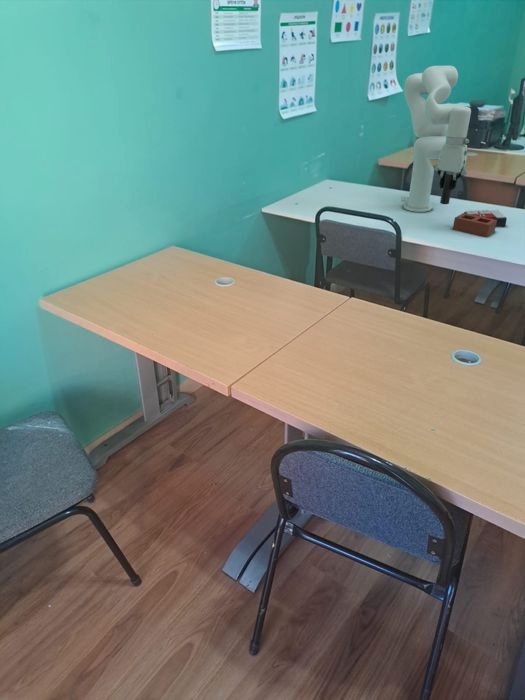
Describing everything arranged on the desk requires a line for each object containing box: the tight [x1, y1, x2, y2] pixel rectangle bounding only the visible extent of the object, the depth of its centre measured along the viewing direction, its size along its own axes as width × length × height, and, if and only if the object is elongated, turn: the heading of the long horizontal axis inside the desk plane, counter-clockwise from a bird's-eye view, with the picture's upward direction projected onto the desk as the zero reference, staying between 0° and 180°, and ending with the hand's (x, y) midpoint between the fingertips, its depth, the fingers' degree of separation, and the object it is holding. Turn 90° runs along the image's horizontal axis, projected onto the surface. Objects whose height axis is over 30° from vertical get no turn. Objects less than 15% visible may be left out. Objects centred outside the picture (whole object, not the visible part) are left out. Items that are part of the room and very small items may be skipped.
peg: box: [439, 172, 453, 205], centre depth 212 cm, size 4×4×12 cm
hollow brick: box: [452, 212, 497, 238], centre depth 214 cm, size 15×8×5 cm, turn 48°
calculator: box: [463, 209, 508, 228], centre depth 223 cm, size 11×4×15 cm
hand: (447, 188), depth 212 cm, fingers closed on peg, 3 cm apart
